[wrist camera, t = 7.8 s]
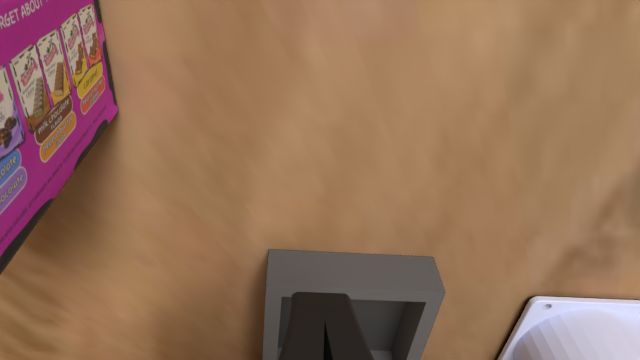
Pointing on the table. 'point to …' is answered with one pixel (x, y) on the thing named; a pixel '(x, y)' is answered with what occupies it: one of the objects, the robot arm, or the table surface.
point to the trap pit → (358, 297)
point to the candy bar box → (47, 105)
